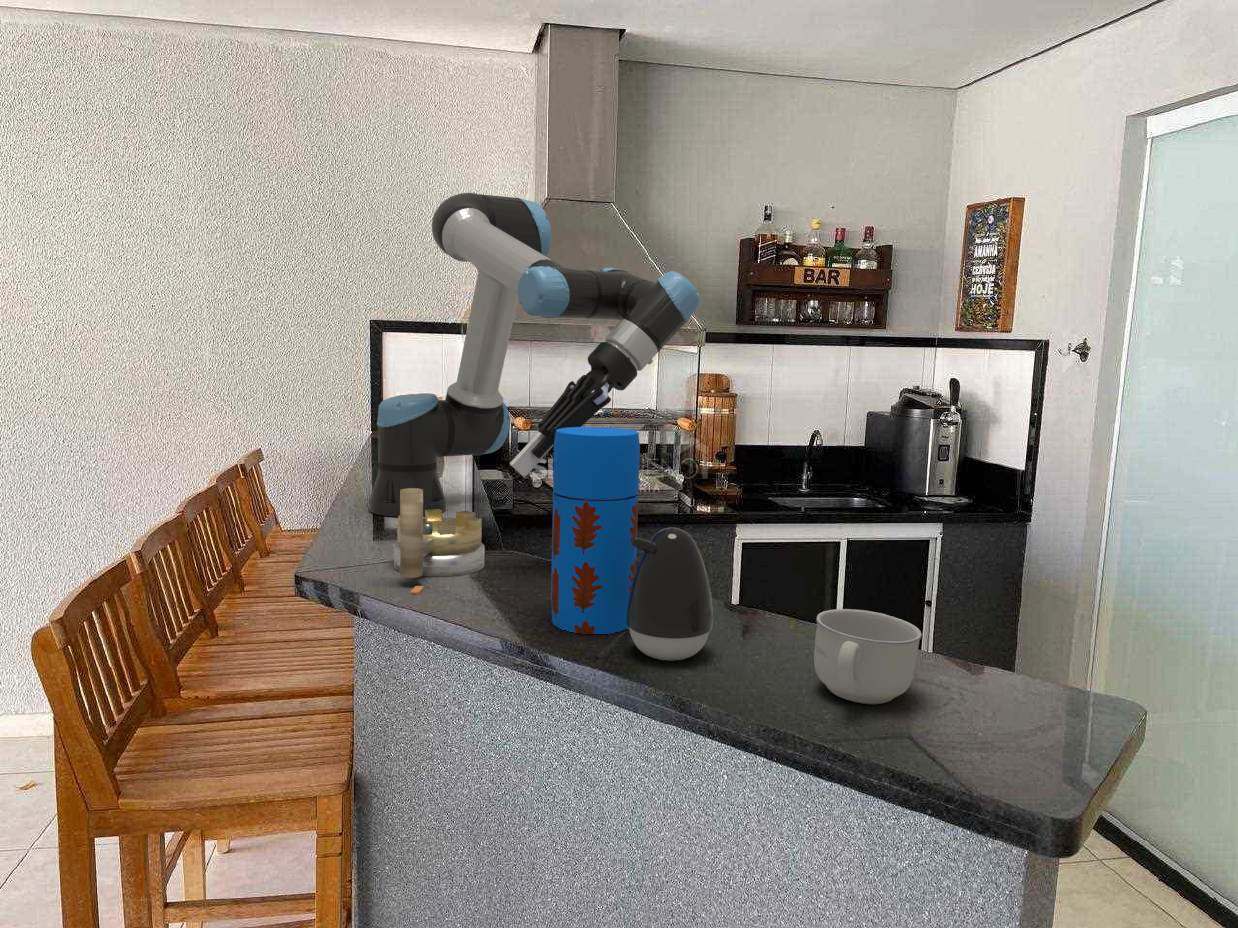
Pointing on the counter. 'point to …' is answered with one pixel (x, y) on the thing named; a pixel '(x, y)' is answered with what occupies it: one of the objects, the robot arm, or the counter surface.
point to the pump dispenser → (669, 597)
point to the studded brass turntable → (431, 533)
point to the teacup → (865, 654)
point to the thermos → (594, 527)
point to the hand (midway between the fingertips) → (517, 470)
